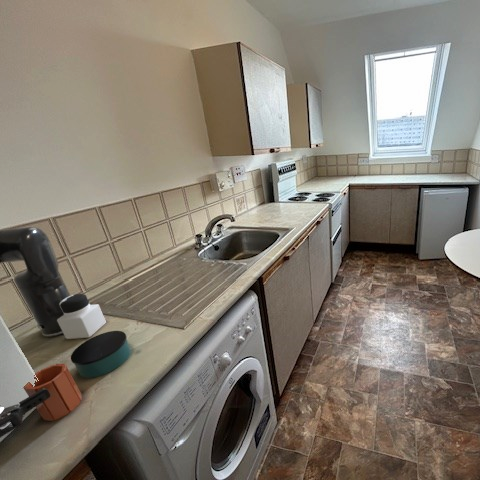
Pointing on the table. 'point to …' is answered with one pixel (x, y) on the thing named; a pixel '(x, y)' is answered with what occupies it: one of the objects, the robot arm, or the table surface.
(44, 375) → the terracotta cup
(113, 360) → the teal tin
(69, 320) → the medicine bottle
